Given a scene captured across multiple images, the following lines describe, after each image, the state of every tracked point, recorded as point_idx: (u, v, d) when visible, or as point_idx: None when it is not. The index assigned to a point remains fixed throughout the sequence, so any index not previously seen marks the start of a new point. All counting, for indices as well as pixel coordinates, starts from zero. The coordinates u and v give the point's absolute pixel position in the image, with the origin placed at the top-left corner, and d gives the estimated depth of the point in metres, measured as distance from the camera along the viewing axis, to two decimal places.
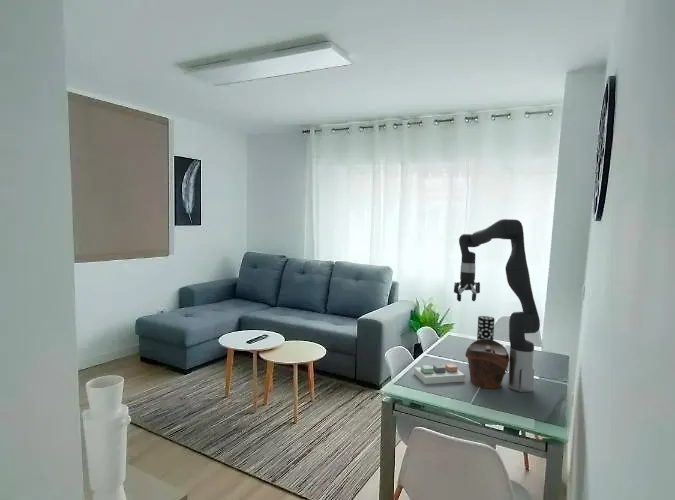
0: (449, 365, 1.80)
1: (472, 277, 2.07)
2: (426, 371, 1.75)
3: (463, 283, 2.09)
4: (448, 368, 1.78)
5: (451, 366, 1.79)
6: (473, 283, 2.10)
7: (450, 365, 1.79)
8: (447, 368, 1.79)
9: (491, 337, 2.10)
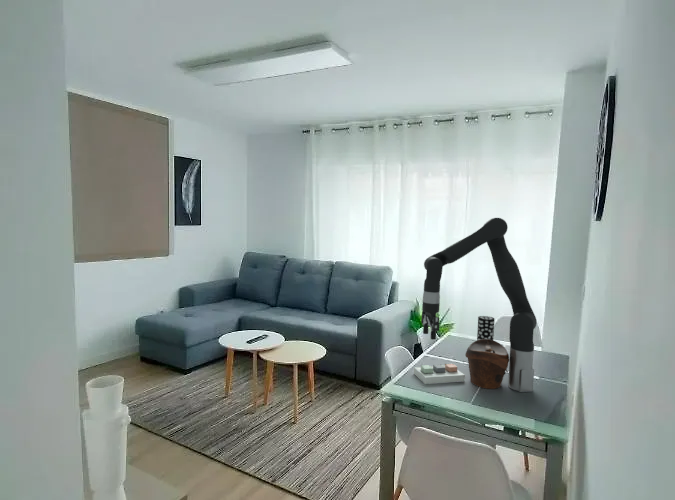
0: (449, 365, 1.80)
1: None
2: (426, 371, 1.75)
3: None
4: (448, 368, 1.78)
5: (451, 366, 1.79)
6: None
7: (450, 365, 1.79)
8: (447, 368, 1.79)
9: (491, 337, 2.10)
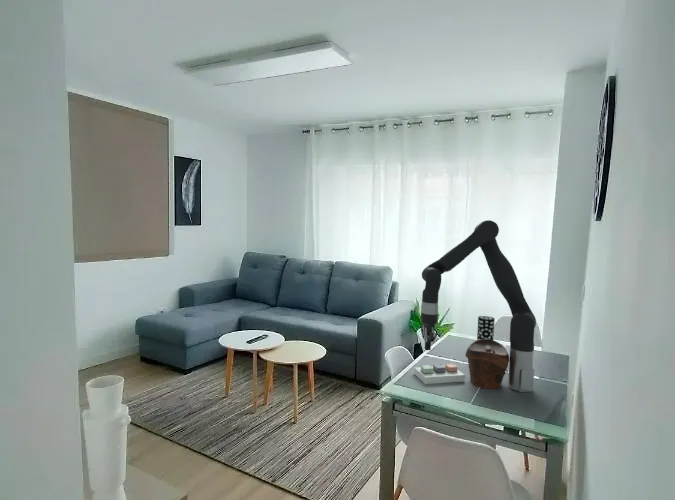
0: (449, 365, 1.80)
1: None
2: (426, 371, 1.75)
3: None
4: (448, 368, 1.78)
5: (451, 366, 1.79)
6: None
7: (450, 365, 1.79)
8: (447, 368, 1.79)
9: (491, 337, 2.10)
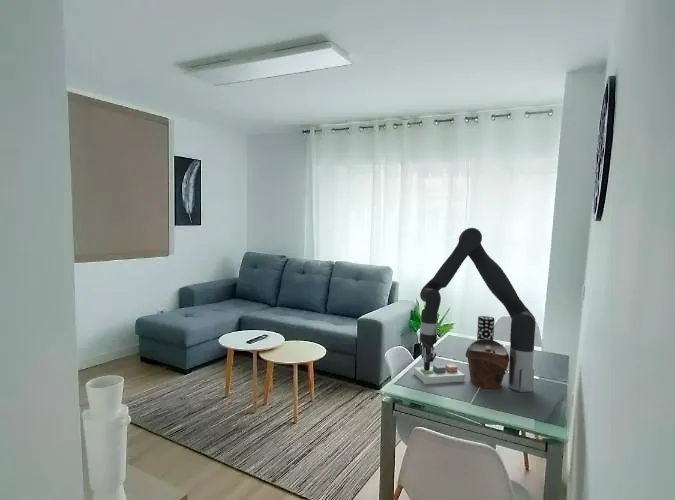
0: (449, 365, 1.80)
1: None
2: None
3: None
4: (448, 368, 1.78)
5: (451, 366, 1.79)
6: None
7: (450, 365, 1.79)
8: (447, 368, 1.79)
9: (491, 337, 2.10)
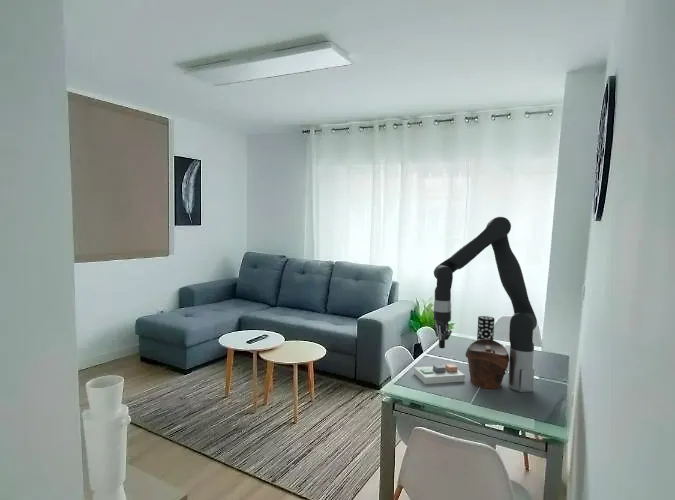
0: (449, 365, 1.80)
1: None
2: None
3: None
4: (448, 368, 1.78)
5: (451, 366, 1.79)
6: None
7: (450, 365, 1.79)
8: (447, 368, 1.79)
9: (491, 337, 2.10)
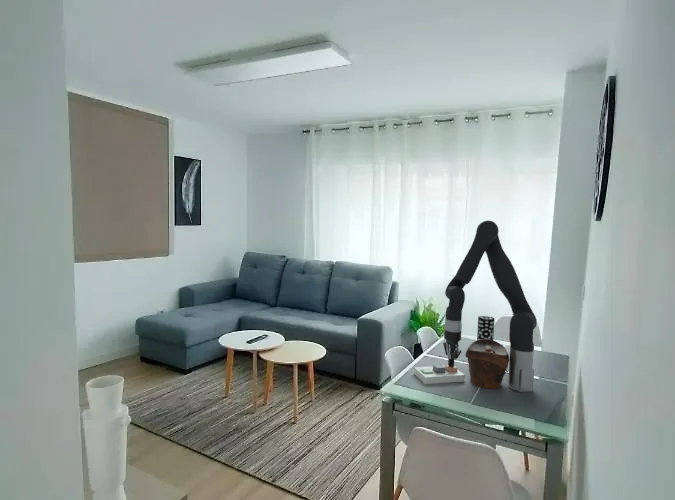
0: (449, 366, 1.80)
1: None
2: None
3: None
4: (448, 369, 1.78)
5: (451, 367, 1.79)
6: None
7: None
8: (447, 369, 1.79)
9: (491, 337, 2.10)
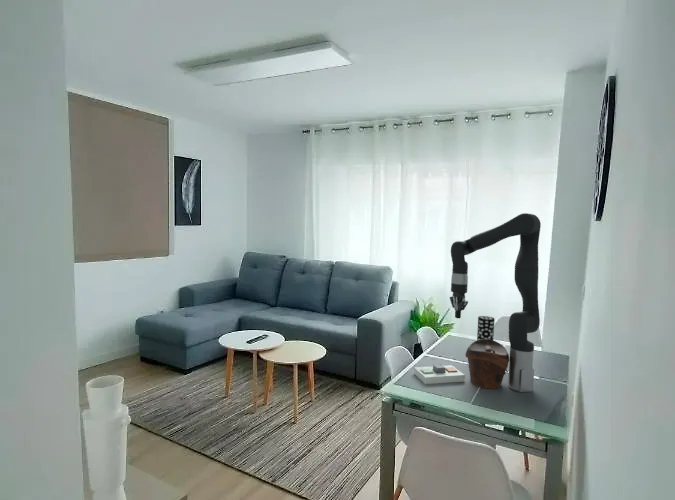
0: (449, 368, 1.80)
1: None
2: None
3: None
4: (448, 371, 1.78)
5: (451, 369, 1.79)
6: None
7: (450, 369, 1.80)
8: (447, 371, 1.79)
9: (491, 337, 2.10)
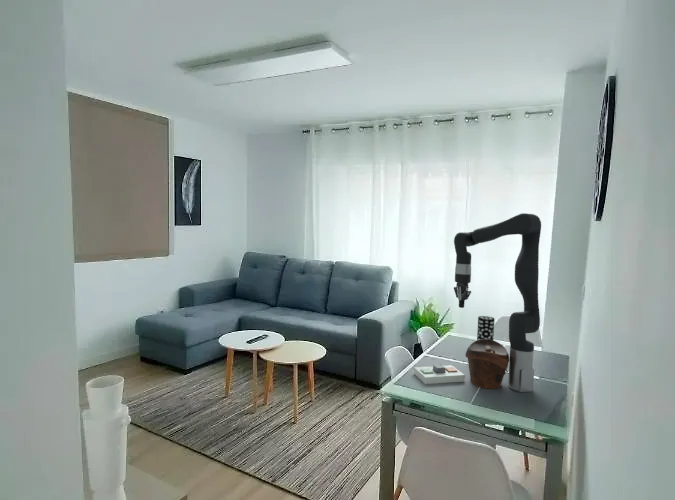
0: (449, 368, 1.80)
1: None
2: None
3: None
4: (448, 371, 1.78)
5: (451, 369, 1.79)
6: None
7: (450, 369, 1.80)
8: (447, 371, 1.79)
9: (491, 337, 2.10)
